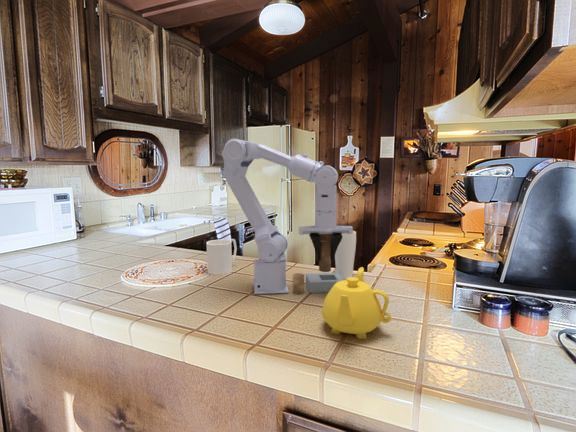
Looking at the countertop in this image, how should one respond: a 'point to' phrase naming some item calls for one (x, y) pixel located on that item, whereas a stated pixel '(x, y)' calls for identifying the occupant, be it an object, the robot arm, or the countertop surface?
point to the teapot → (354, 307)
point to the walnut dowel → (325, 256)
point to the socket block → (321, 281)
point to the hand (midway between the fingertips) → (325, 259)
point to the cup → (220, 256)
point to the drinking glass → (346, 255)
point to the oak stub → (298, 283)
